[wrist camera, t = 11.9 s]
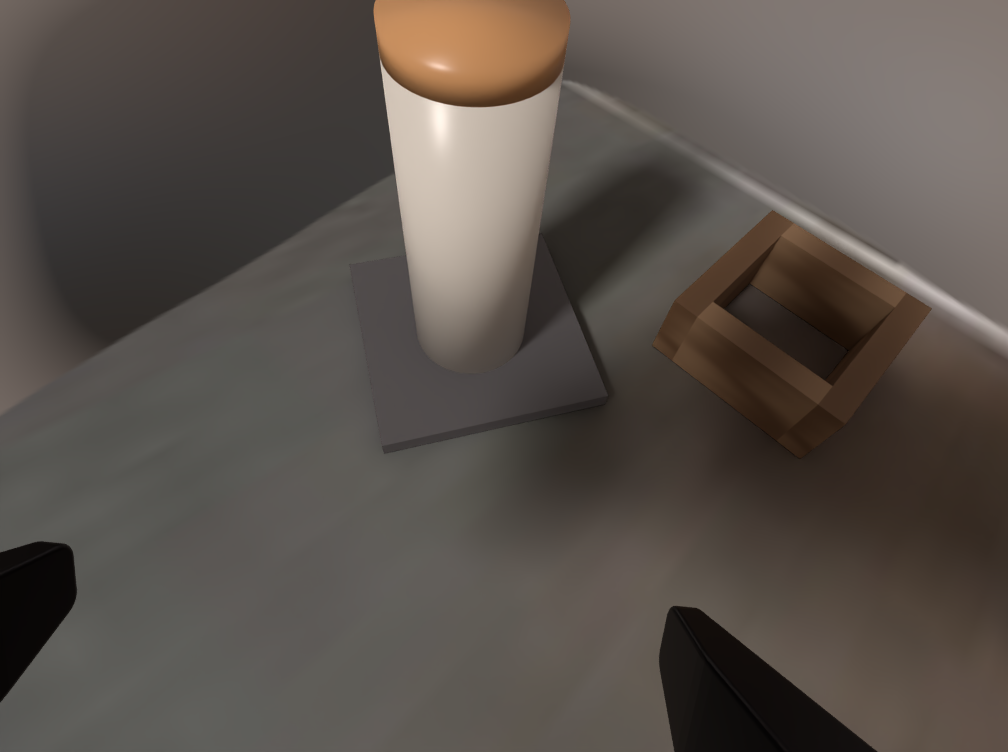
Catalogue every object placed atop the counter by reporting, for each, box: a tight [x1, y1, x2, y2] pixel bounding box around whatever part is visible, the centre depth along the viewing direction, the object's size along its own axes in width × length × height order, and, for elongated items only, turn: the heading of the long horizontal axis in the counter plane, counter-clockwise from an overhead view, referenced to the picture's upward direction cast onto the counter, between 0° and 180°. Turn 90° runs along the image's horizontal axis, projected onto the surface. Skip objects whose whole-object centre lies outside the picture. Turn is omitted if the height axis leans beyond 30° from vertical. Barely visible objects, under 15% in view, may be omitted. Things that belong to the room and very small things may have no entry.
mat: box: [350, 233, 608, 454], centre depth 27 cm, size 10×10×1 cm
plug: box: [374, 0, 570, 374], centre depth 21 cm, size 5×5×14 cm
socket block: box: [652, 210, 932, 459], centre depth 26 cm, size 8×8×4 cm
